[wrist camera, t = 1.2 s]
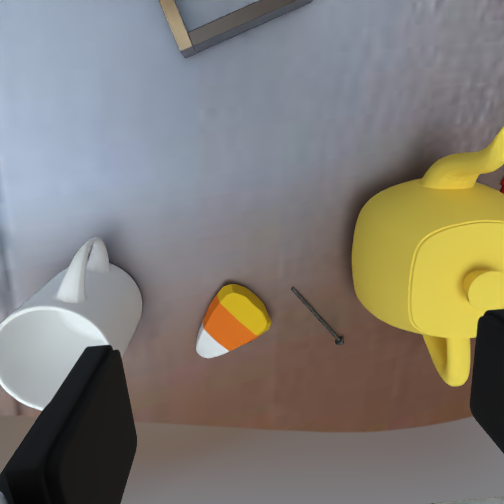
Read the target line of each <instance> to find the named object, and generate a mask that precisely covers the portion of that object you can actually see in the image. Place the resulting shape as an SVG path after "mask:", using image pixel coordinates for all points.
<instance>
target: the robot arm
mask: <svg viewBox="0 0 504 504" xmlns="http://www.w3.org/2000/svg"><path fill="white" fill-rule="evenodd" d="M470 409H471V412H472V414H473V416H474V418H475V419H476V421H477V422H478V423H479V424H480V425H481V427H482V428H483V429H484V430H485V431H486V433H487V434H488V435H489V436H490V437H491V439H492V440H493V441H494V442H495V443H496V445H497V446H498V447H499V448H500V450H501V451H502V452H503V453H504V309H496V310H487V311H486V312H485V313H484V315H483V316H481V317H480V318H479V319H478V324H477V334H476V345H475V355H474V365H473V376H472V386H471V396H470ZM136 447H137V435H136V430H135V425H134V419H133V414H132V409H131V404H130V399H129V394H128V389H127V384H126V379H125V373H124V368H123V363H122V358H121V354H120V351H119V350H113V348H112V346H111V345H100V346H89V347H86V348H85V350H84V351H83V353H82V354H81V356H80V357H79V359H78V360H77V362H76V363H75V365H74V366H73V368H72V369H71V371H70V372H69V374H68V375H67V377H66V379H65V380H64V382H63V383H62V385H61V386H60V388H59V389H58V391H57V392H56V394H55V395H54V397H53V398H52V400H51V401H50V403H48V404H47V406H46V407H45V408H44V409H43V411H42V412H41V414H40V415H39V417H38V418H37V420H36V421H35V423H34V425H33V426H32V427H31V429H30V430H29V432H28V433H27V435H26V436H25V438H24V439H23V441H22V442H21V444H20V445H19V447H18V449H17V450H16V451H15V453H14V454H13V456H12V457H11V459H10V460H9V462H8V463H7V465H6V466H5V468H4V469H3V471H2V472H1V474H0V504H120V503H121V499H122V496H123V493H124V489H125V486H126V483H127V479H128V476H129V473H130V469H131V466H132V462H133V459H134V456H135V452H136ZM432 504H504V497H494V498H484V499H474V500H462V501H452V502H442V503H432Z"/></svg>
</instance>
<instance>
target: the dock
mask: <svg viewBox="0 0 504 504" xmlns="http://www.w3.org/2000/svg"><path fill="white" fill-rule="evenodd" d="M311 1H312V0H259V1H257V2H255V3H252V4H250V5H248V6H246V7H243V8H241V9H239V10H237V11H235V12H232V13H230V14H228V15H226V16H223V17H221V18H219V19H217V20H215V21H212V22H210V23H208V24H206V25H203V26H201V27H199V28H197V29H194V30H192V31H190V32H187V29H186V27H185V24H184V22H183V20H182V17H181V15H180V12H179V10H178V7H177V5H176V2H175V0H159V2H160V4H161V7H162V9H163V12H164V14H165V16H166V19H167V21H168V24H169V26H170V28H171V31H172V33H173V35H174V38H175V40H176V43H177V45H178V47H179V50H180V52H181V53H182V54H183V56H184V57H185V58H186V57H188V56H191V55H193V54H195V53H197V52H200V51H202V50H204V49H206V48H209V47H211V46H213V45H215V44H218V43H220V42H222V41H224V40H227V39H229V38H231V37H233V36H236V35H238V34H240V33H242V32H245V31H247V30H249V29H251V28H254V27H256V26H258V25H260V24H263V23H265V22H267V21H269V20H272V19H274V18H276V17H278V16H281V15H283V14H285V13H287V12H290V11H292V10H294V9H296V8H299V7H301V6H303V5H305V4H308V3H310V2H311Z"/></svg>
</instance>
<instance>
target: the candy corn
mask: <svg viewBox="0 0 504 504" xmlns="http://www.w3.org/2000/svg"><path fill="white" fill-rule="evenodd" d="M270 325H271V320H270V317H269V315H268V313H267V310H266V308H265V306H264V303H263V302H262V301H261V300H260V299H259V298H258V297H257V296H256V295H255V294H254V293H252V292H251V291H250V290H249V289H247V288H245V287H243V286H240V285H237V284H229V285H227V286H224V287H223V288H222V289H221V290H220V291H219V292H218V294H217V295H216V296H215V298H214V299H213V301H212V302H211V304H210V305H209V308H208V310H207V312H206V315H205V317H204V319H203V322H202V324H201V327H200V330H199V333H198V337H197V341H196V352H197V353H198V354H199V355H200V356H202V357H205V358H212V357H216V356H219V355H222V354H224V353H226V352H229V351H231V350H233V349H235V348H237V347H239V346H241V345H244V344H246V343H248V342H251V341H252V340H254V339H255V338H257V337H258V336H260V335H261V334H263V333H264V332H265V331H267V330H268V329H269V328H270Z"/></svg>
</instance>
